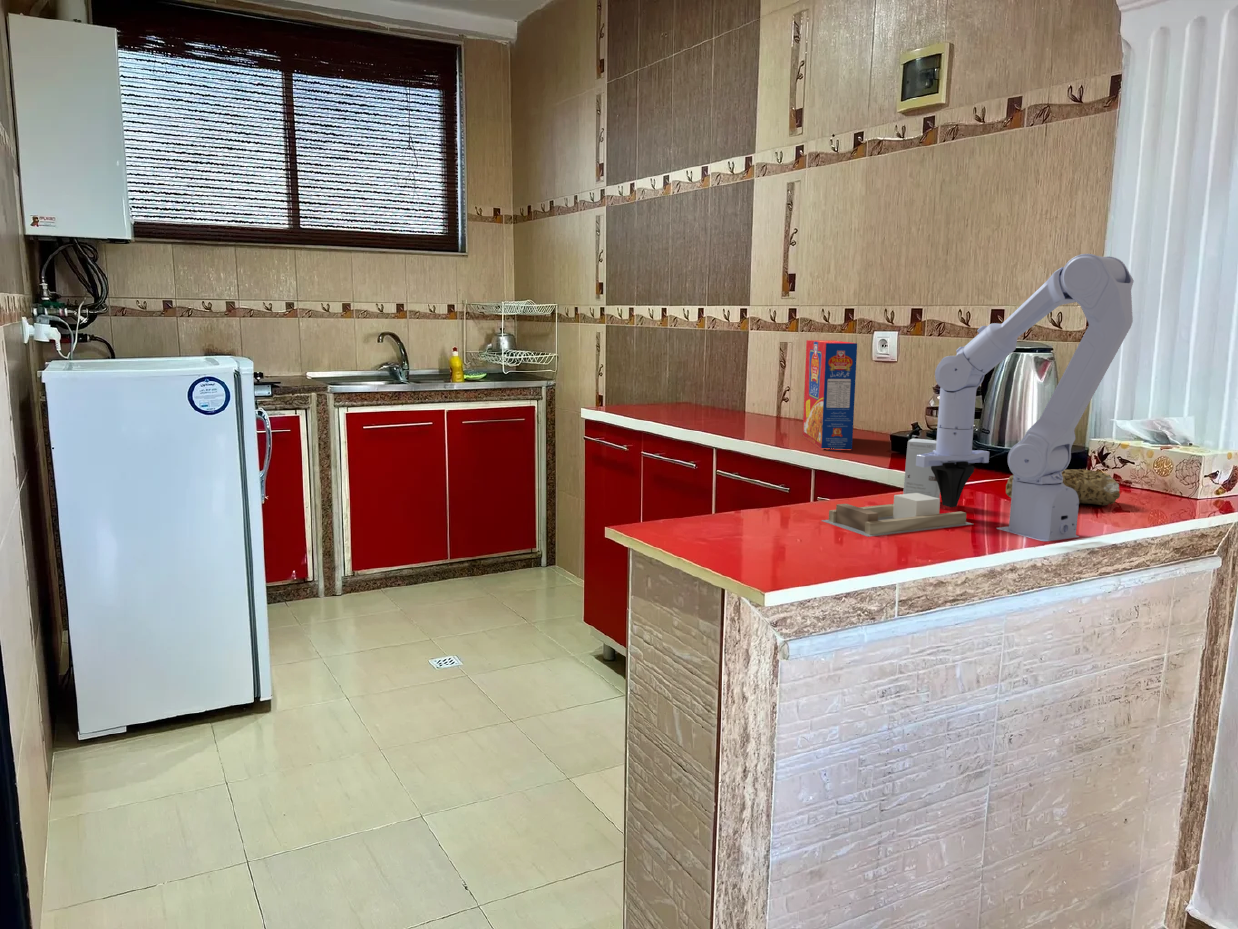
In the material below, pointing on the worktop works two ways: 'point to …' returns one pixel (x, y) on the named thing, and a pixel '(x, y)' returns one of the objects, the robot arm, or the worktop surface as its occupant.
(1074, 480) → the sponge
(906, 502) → the block
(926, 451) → the skincare box
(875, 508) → the guide rails
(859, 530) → the track board
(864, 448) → the worktop surface
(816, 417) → the pasta box
